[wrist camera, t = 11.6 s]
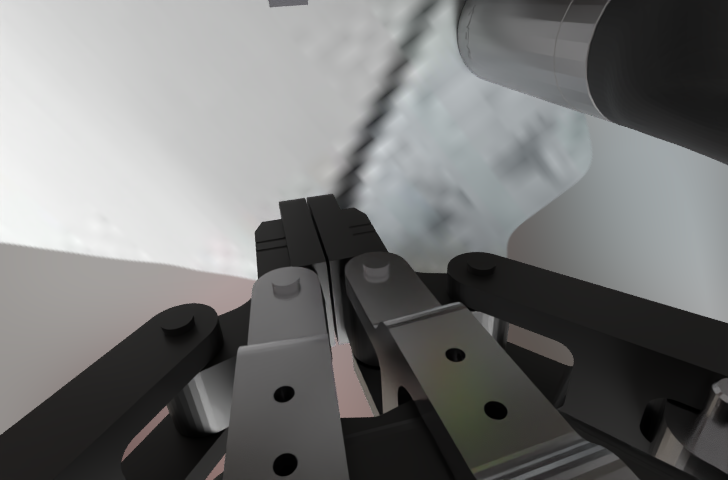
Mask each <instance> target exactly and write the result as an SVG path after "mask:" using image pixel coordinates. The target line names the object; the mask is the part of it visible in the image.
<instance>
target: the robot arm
mask: <svg viewBox="0 0 728 480" xmlns="http://www.w3.org/2000/svg"><path fill="white" fill-rule="evenodd" d="M458 45H459V50H460V54H461V56H462V59H463V61H464V63H465V65H466V66H467V67H468V68H469V70H470V71H471V72H472V73H473V74H475V75H476V76H477V77H479V78H481V79H484V80H486V81H489V82H492V83H495V84H498V85H501V86H503V87H506V88H509V89H512V90H515V91H518V92H521V93H524V94H527V95H530V96H533V97H536V98H539V99H542V100H545V101H548V102H551V103H554V104H557V105H560V106H563V107H566V108H569V109H572V110H575V111H578V112H581V113H585V114H588V115H591V116H594V117H597V118H600V119H603V120H607V121H609V122H612V123H616V124H618V125H621V126H625V127H628V128H631V129H634V130H637V131H639V132H642V133H645V134H648V135H650V136H653V137H656V138H659V139H662V140H665V141H668V142H671V143H674V144H677V145H679V146H682V147H685V148H687V149H690V150H692V151H695V152H697V153H700V154H702V155H705V156H707V157H710V158H712V159H715V160H717V161H720V162H722V163H724V164H727V165H728V0H467V1H466V3H465V5H464V7H463V10H462V13H461V16H460V20H459V26H458ZM279 208H280V214H281V219H279V220H272V221H266V222H262V223H261V224H260V226H259V227H258V228H257V230H256V231H255V242H256V256H257V271H258V280H257V281H256V282H255V283H254V285H253V289H252V298H251V299H250V300H249V301H248V302H246V303H245V304H244V305H242V306H240V307H238V308H237V309H234V310H232V311H230V312H227V313H225V314H222V315H220V316H218V315H217V313H216V312H215V310H214V309H213V308H211V307H210V306H207V305H204V304H196V303H192V304H183V305H179V306H176V307H172V308H169V309H167V310H165V311H163V312H161V313H159V314H157V315H156V316H154V317H153V318H152V319H150V320H149V321H148V322H146V323H145V324H144V325H142V326H141V327H140V328H139V329H137V330H136V331H135V332H133V333H132V334H131V335H129V336H128V337H127V338H126V339H124V340H123V341H122V342H120V343H119V344H118V345H117V346H115V347H114V348H113V349H111V350H110V351H109V352H107V353H106V354H105V355H104V356H103V357H101V358H100V359H98V360H97V361H96V362H95V363H93V364H92V365H91V366H89V367H88V368H87V369H85V370H84V371H83V372H82V373H80V374H79V375H78V376H77V377H75V378H74V379H73V380H71V381H70V382H69V383H67V384H66V385H65V386H63V387H62V388H61V389H60V390H58V391H57V392H56V393H54V394H53V395H52V396H51V397H50V398H48V399H47V400H45V401H44V402H43V403H41V404H40V405H39V406H38V407H36V408H35V409H34V410H32V411H31V412H30V413H29V414H27V415H26V416H25V417H23V418H22V419H21V420H20V421H18V422H17V423H16V424H14V425H13V426H12V427H11V428H9V429H8V430H7V431H5V432H4V433H3V434H1V435H0V480H205V479H206V478H207V476H208V475H209V474H210V473H211V471H212V470H213V468H214V467H215V466H216V465H217V463H218V462H219V461H220V460H221V458H222V457H223V456H224V454H225V453H226V455H225V464H224V472H222V473H221V474H220V475H218V476H217V477H216V478H215V479H214V480H728V323H725V322H722V321H718V320H715V319H711V318H708V317H705V316H701V315H698V314H694V313H691V312H688V311H684V310H681V309H677V308H674V307H671V306H667V305H664V304H660V303H657V302H654V301H650V300H647V299H644V298H640V297H637V296H633V295H630V294H627V293H623V292H620V291H617V290H613V289H610V288H606V287H603V286H600V285H596V284H593V283H589V282H586V281H583V280H579V279H576V278H572V277H569V276H566V275H562V274H559V273H555V272H552V271H549V270H545V269H541V268H538V267H535V266H532V265H528V264H525V263H522V262H518V261H515V260H511V259H508V258H505V257H501V256H498V255H494V254H490V253H484V252H471V253H465V254H461V255H458V256H456V257H454V258H453V259H452V260H451V261H450V262H449V264H448V267H447V273H420V272H414V270H413V269H412V268H411V267H410V265H409V264H408V263H407V262H406V261H405V260H404V259H403V258H402V257H400V256H398V255H396V254H393V253H389V252H388V251H387V249H386V247H385V246H384V244H383V242H382V241H381V239H380V237H379V235H378V234H377V232H376V231H375V229H374V227H373V225H371V222H370V220H369V219H368V217H367V215H366V214H365V213H363V212H361V211H359V210H357V209H356V208H348V209H342V210H341V209H340V207H339V205H338V203H337V201H336V199H335V197H334V195H333V194H328V195H321V196H314V197H307V203H306V200H305V198H301V199H295V200H288V201H281V202H279ZM509 323H511V324H514V325H516V326H519V327H521V328H524V329H527V330H529V331H532V332H535V333H537V334H540V335H543V336H545V337H548V338H551V339H553V340H556V341H558V342H560V343H562V344H564V345H565V346H566V347H567V348H568V349H569V350H570V352H571V353H572V355H573V358H574V365H573V366H567V365H564V364H562V363H559V362H557V361H554V360H552V359H549V358H546V357H544V356H542V355H539V354H537V353H534V352H532V351H529V350H527V349H524V348H522V347H519V346H517V345H515V344H512V343H510V342H507V336H508V328H509ZM334 331H335V334H336V337H337V341H338V344H339V345H342V344H347V343H350V346H351V349H352V357H353V367H354V371H355V373H356V375H357V378H358V380H359V382H360V385H361V387H362V389H363V392H364V394H365V397H366V399H367V401H368V404H369V406H370V408H371V411H372V413H373V415H374V417H363V418H362V417H361V418H340V413H339V406H338V400H337V393H336V386H335V379H334V372H333V365H332V352H331V347H333V346H336V342H335V334H334ZM166 405H167V408H168V410H169V414H168V415H167V416H166V417H165V418H164V419H163V420H162V421H161V422H160V423H159V424H158V425H157V426H156V427H155V428H154V430H152V432H151V433H150V434H149V435H148V436H147V437H146V438H145V439H144V440H143V441H142V442H141V443H140V444H139V445H138V446H137V447H136V448H135V449H134V450H133V451H132V452H131V453H130V454H129V455H128V456H127V457H126V458H125V459H124V460H123V461H122V462H121V460H122V457H123V454H124V452H125V449H126V448H127V446H128V444H129V443H130V442H131V440H132V439H133V438H134V437H135V436H136V435H137V434H138V433H139V432H140V431H141V430H142V429H143V428H144V427H145V426H146V425H147V424H148V423H149V422H150V421H151V420H152V419H153V418H154V417H155V416H156V415H157V414H158V413H159V412H160V411H161V410H162V409H163V408H164V407H165V406H166Z"/></svg>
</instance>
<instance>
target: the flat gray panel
mask: <svg viewBox="0 0 728 480" xmlns="http://www.w3.org/2000/svg"><path fill="white" fill-rule="evenodd" d="M269 4H270V7H279V6H293V5H308V0H269Z"/></svg>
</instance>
